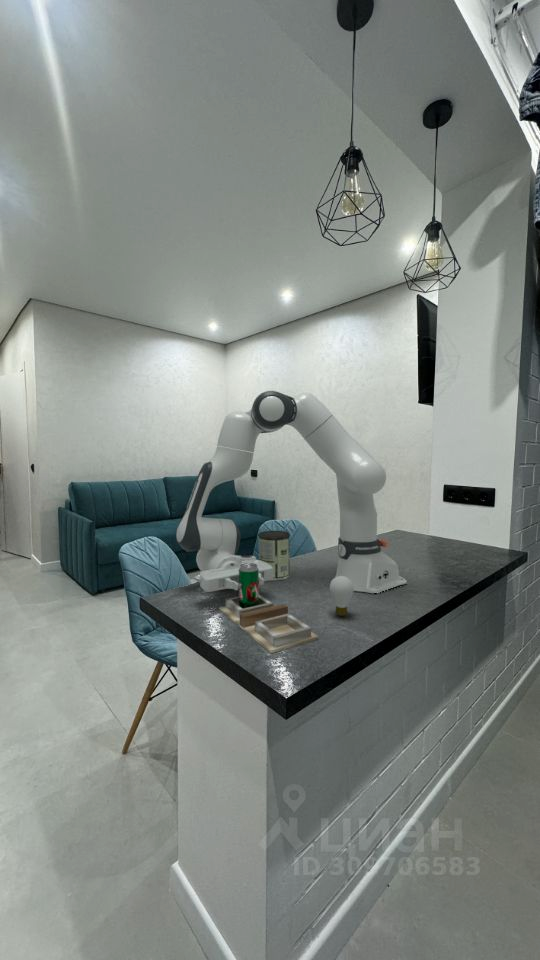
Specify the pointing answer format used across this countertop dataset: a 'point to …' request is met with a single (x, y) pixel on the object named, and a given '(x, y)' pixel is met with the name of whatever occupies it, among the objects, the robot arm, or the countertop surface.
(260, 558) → the coffee can
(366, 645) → the countertop surface
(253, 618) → the socket board
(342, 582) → the light bulb
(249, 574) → the soda can
